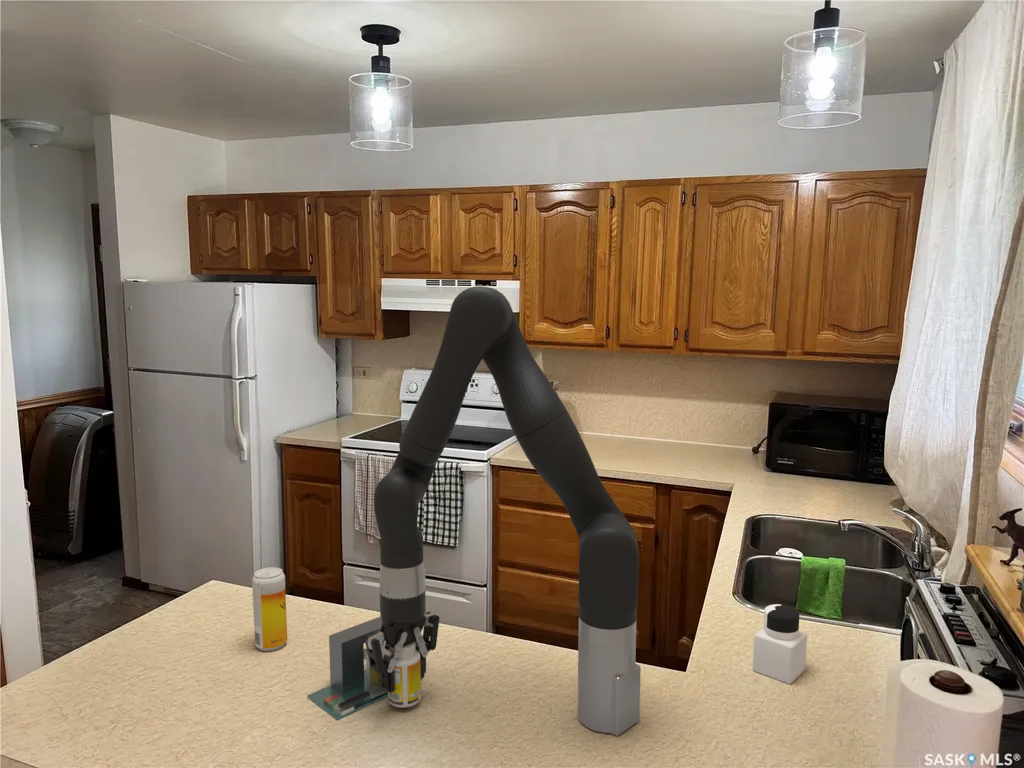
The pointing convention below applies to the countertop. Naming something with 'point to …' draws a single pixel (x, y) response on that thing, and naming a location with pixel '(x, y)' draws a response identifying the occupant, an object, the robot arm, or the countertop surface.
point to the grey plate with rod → (368, 684)
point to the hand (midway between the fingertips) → (404, 683)
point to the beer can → (269, 608)
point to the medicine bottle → (780, 645)
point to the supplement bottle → (406, 678)
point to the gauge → (347, 670)
